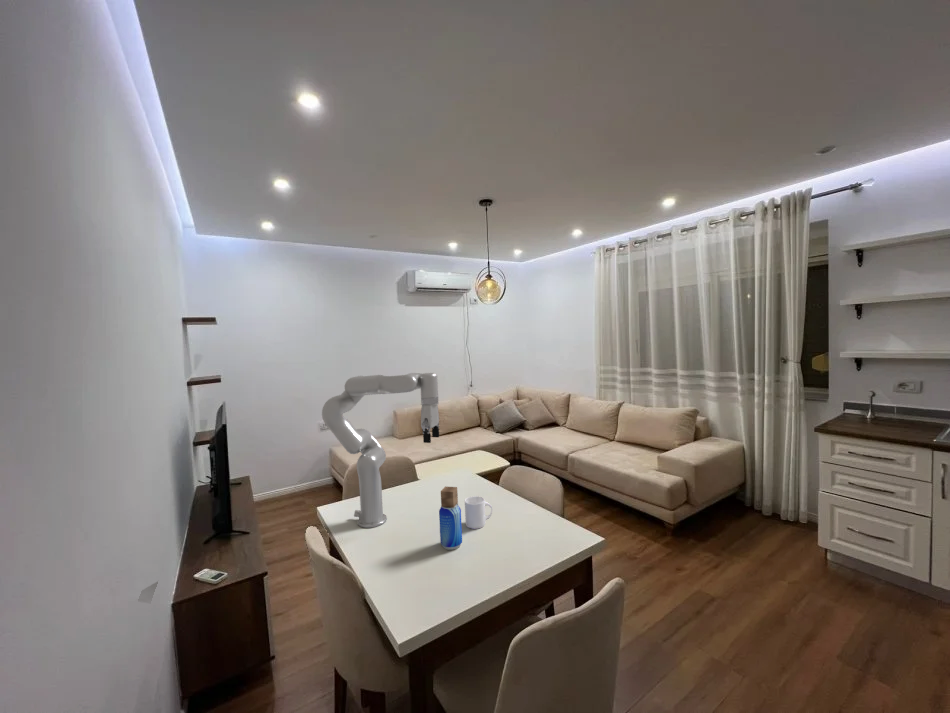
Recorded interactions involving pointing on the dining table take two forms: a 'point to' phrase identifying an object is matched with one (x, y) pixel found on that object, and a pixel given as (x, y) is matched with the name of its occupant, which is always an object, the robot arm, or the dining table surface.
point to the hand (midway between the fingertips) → (431, 439)
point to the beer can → (450, 527)
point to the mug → (476, 512)
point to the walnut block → (449, 497)
